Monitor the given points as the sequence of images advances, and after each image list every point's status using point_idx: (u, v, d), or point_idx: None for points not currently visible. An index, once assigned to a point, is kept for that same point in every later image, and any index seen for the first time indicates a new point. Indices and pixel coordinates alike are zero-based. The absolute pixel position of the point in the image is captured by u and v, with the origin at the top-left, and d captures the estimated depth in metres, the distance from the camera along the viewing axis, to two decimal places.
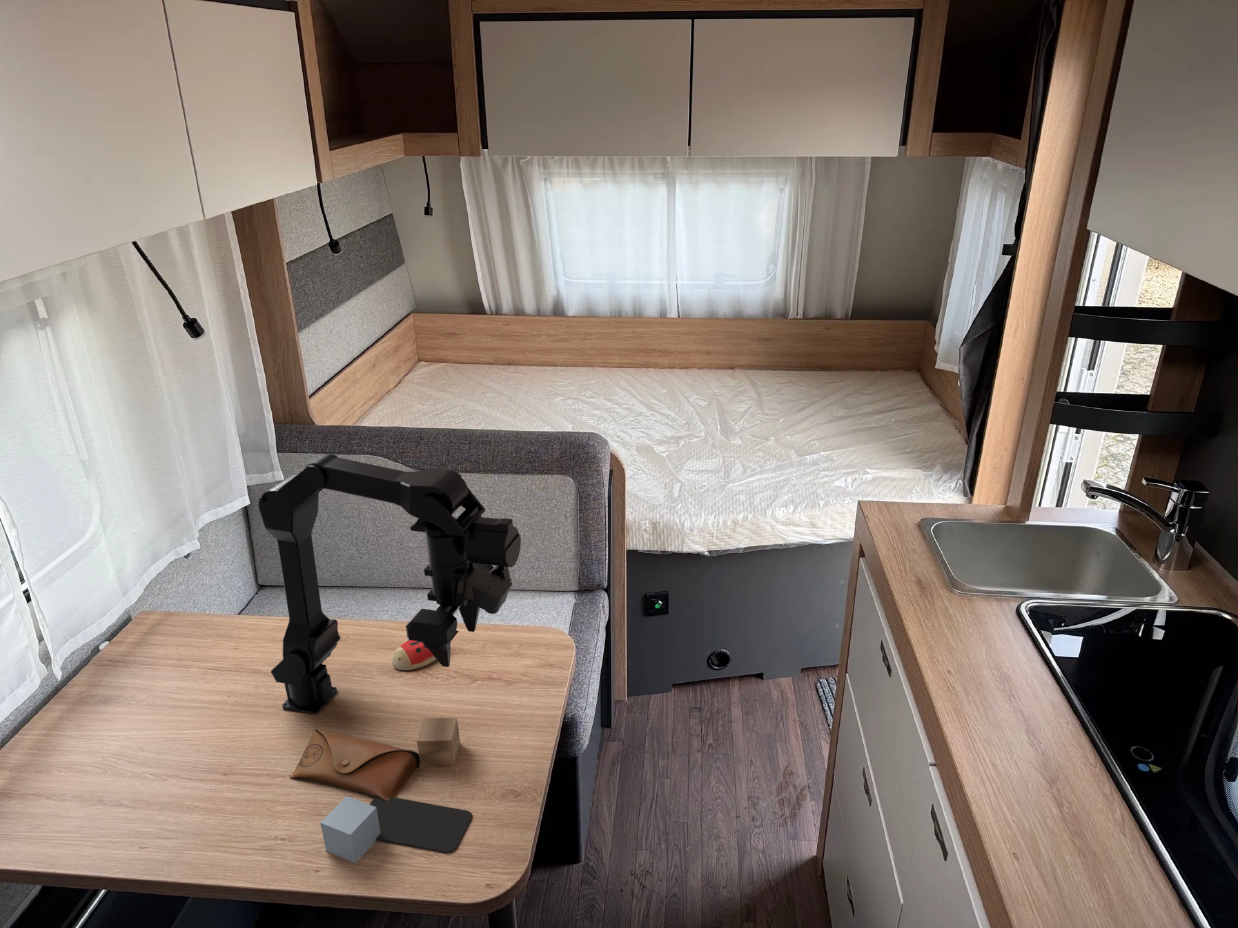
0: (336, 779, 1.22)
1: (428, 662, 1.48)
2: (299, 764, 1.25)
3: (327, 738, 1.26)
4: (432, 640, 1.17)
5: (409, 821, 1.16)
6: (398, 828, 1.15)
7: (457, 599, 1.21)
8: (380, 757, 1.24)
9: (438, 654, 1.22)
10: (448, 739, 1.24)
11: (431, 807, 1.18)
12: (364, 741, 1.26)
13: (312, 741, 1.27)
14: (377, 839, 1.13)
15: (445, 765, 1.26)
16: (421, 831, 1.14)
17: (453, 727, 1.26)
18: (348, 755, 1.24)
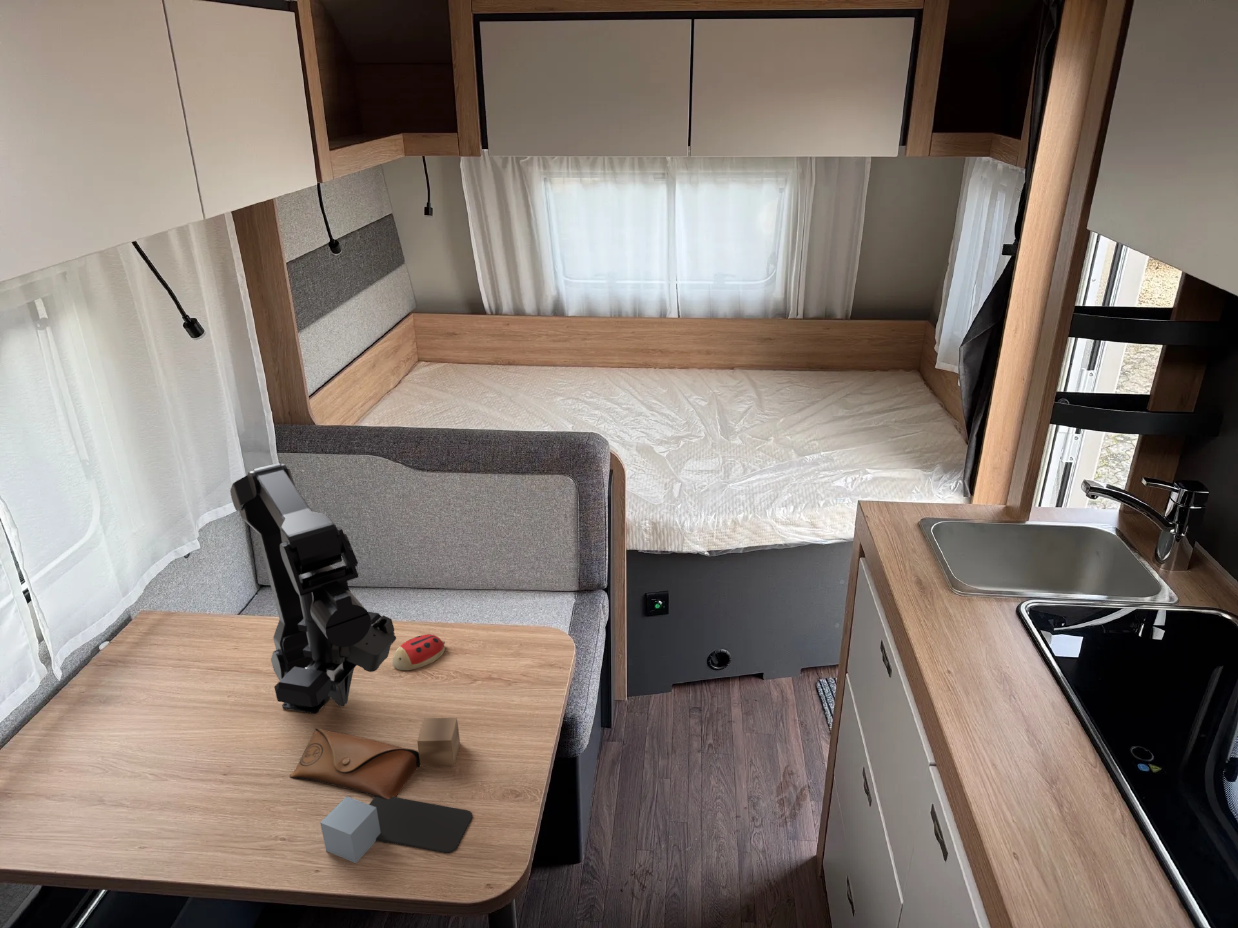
0: (336, 778, 1.22)
1: (428, 662, 1.48)
2: (299, 763, 1.25)
3: (327, 737, 1.26)
4: (301, 702, 1.09)
5: (409, 821, 1.16)
6: (398, 828, 1.15)
7: (333, 656, 1.13)
8: (380, 756, 1.24)
9: (332, 694, 1.19)
10: (448, 739, 1.24)
11: (431, 807, 1.18)
12: (364, 740, 1.26)
13: (312, 740, 1.28)
14: (377, 839, 1.13)
15: (445, 765, 1.26)
16: (421, 831, 1.14)
17: (453, 727, 1.26)
18: (349, 754, 1.24)
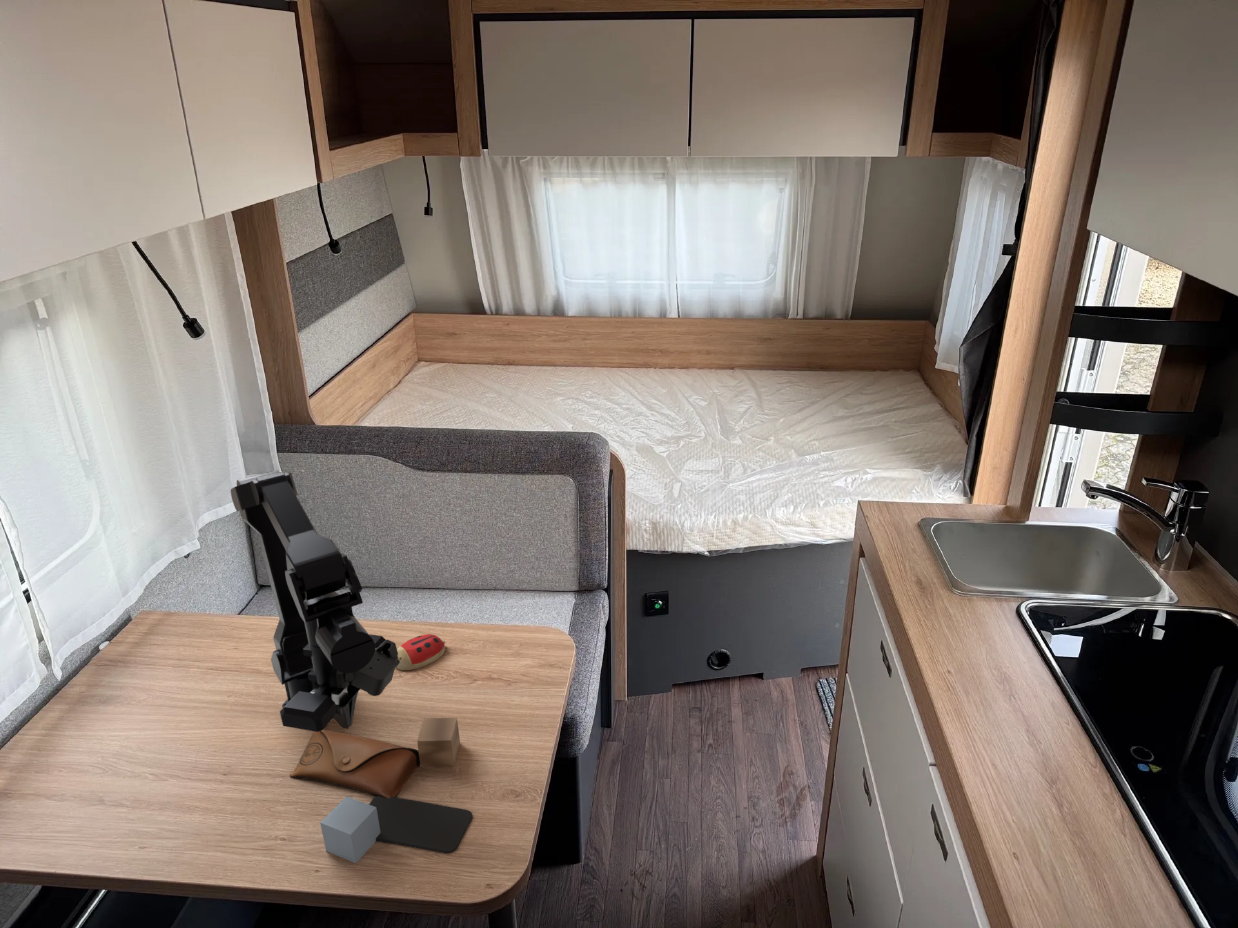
0: (337, 777, 1.22)
1: (429, 662, 1.48)
2: (299, 762, 1.25)
3: (327, 736, 1.26)
4: (306, 727, 1.10)
5: (409, 821, 1.16)
6: (398, 828, 1.14)
7: (337, 680, 1.15)
8: (381, 755, 1.24)
9: (337, 717, 1.20)
10: (448, 739, 1.24)
11: (431, 806, 1.18)
12: (364, 740, 1.26)
13: (312, 740, 1.28)
14: (377, 839, 1.13)
15: (445, 765, 1.26)
16: (421, 831, 1.14)
17: (453, 727, 1.26)
18: (349, 753, 1.24)
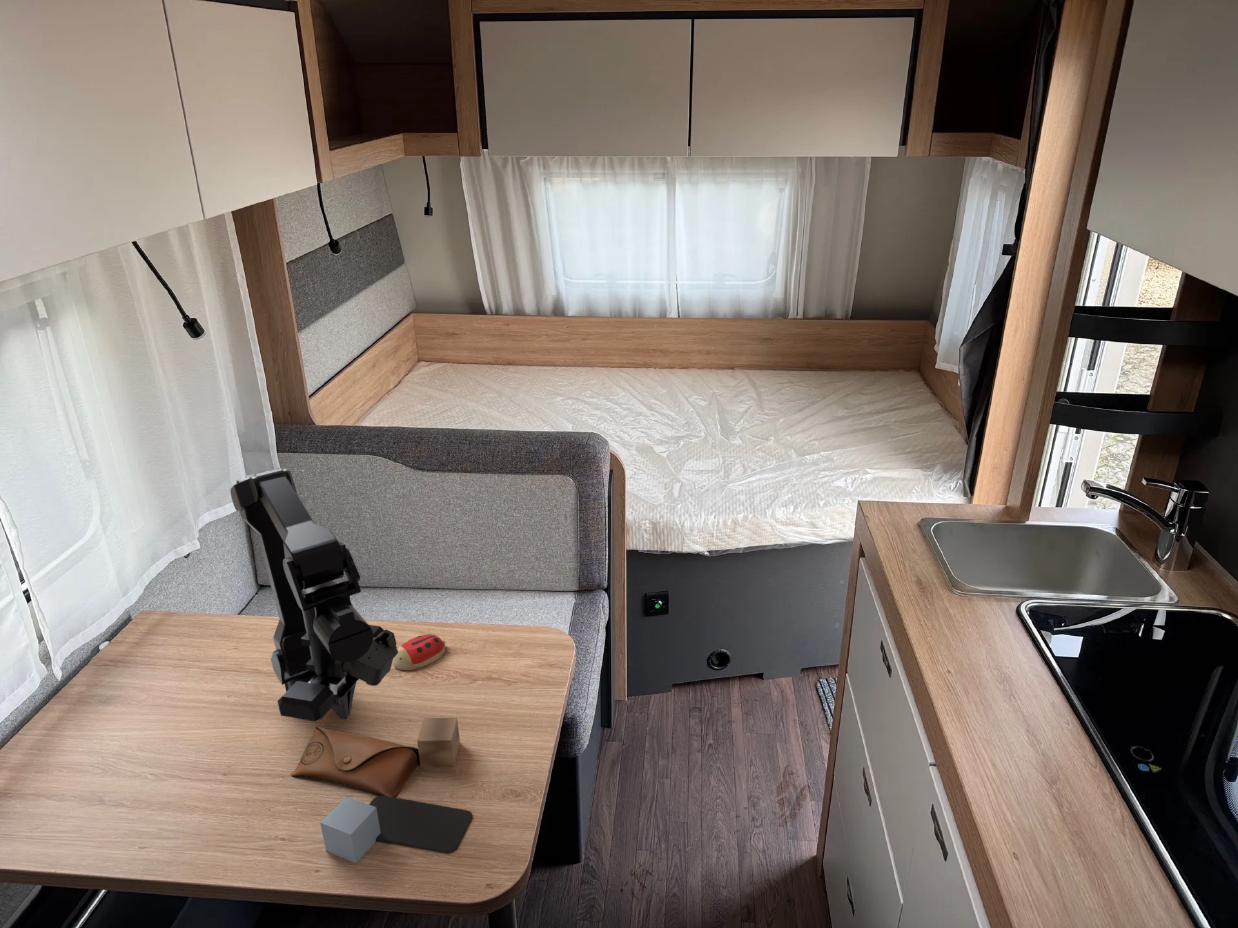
0: (338, 776, 1.22)
1: (429, 662, 1.48)
2: (300, 762, 1.25)
3: (328, 736, 1.26)
4: (304, 716, 1.10)
5: (409, 821, 1.16)
6: (398, 828, 1.14)
7: (336, 670, 1.14)
8: (382, 754, 1.24)
9: (335, 707, 1.19)
10: (448, 739, 1.24)
11: (431, 807, 1.18)
12: (365, 739, 1.26)
13: (313, 739, 1.28)
14: (377, 839, 1.13)
15: (445, 765, 1.26)
16: (421, 831, 1.14)
17: (453, 727, 1.26)
18: (350, 753, 1.24)
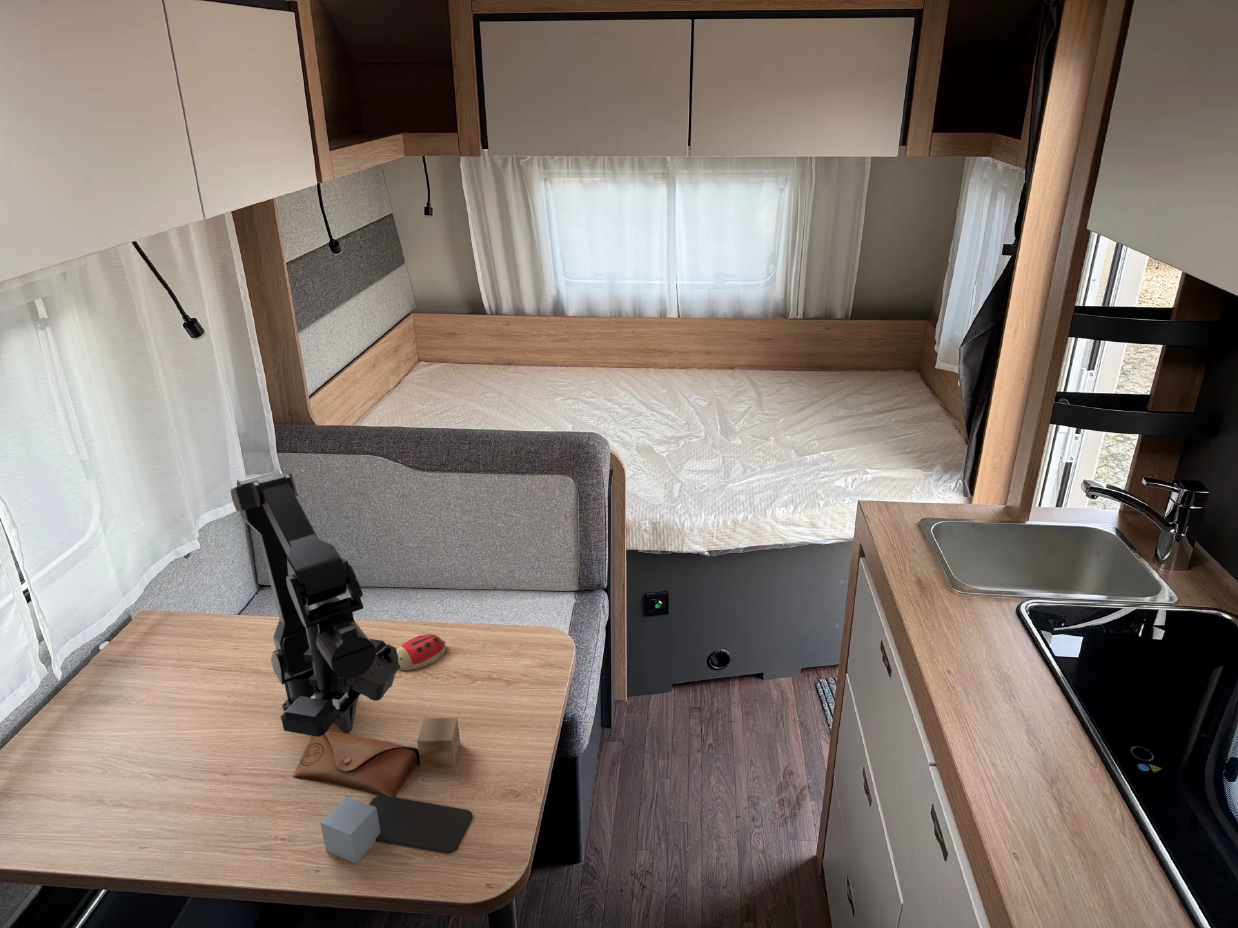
0: (338, 777, 1.22)
1: (429, 661, 1.49)
2: (300, 763, 1.25)
3: (328, 737, 1.27)
4: (307, 732, 1.11)
5: (409, 821, 1.16)
6: (398, 828, 1.14)
7: (338, 685, 1.15)
8: (382, 754, 1.24)
9: (337, 721, 1.21)
10: (448, 739, 1.24)
11: (431, 806, 1.18)
12: (365, 739, 1.26)
13: (313, 740, 1.28)
14: (377, 839, 1.13)
15: (445, 765, 1.26)
16: (421, 831, 1.14)
17: (453, 727, 1.26)
18: (350, 753, 1.24)
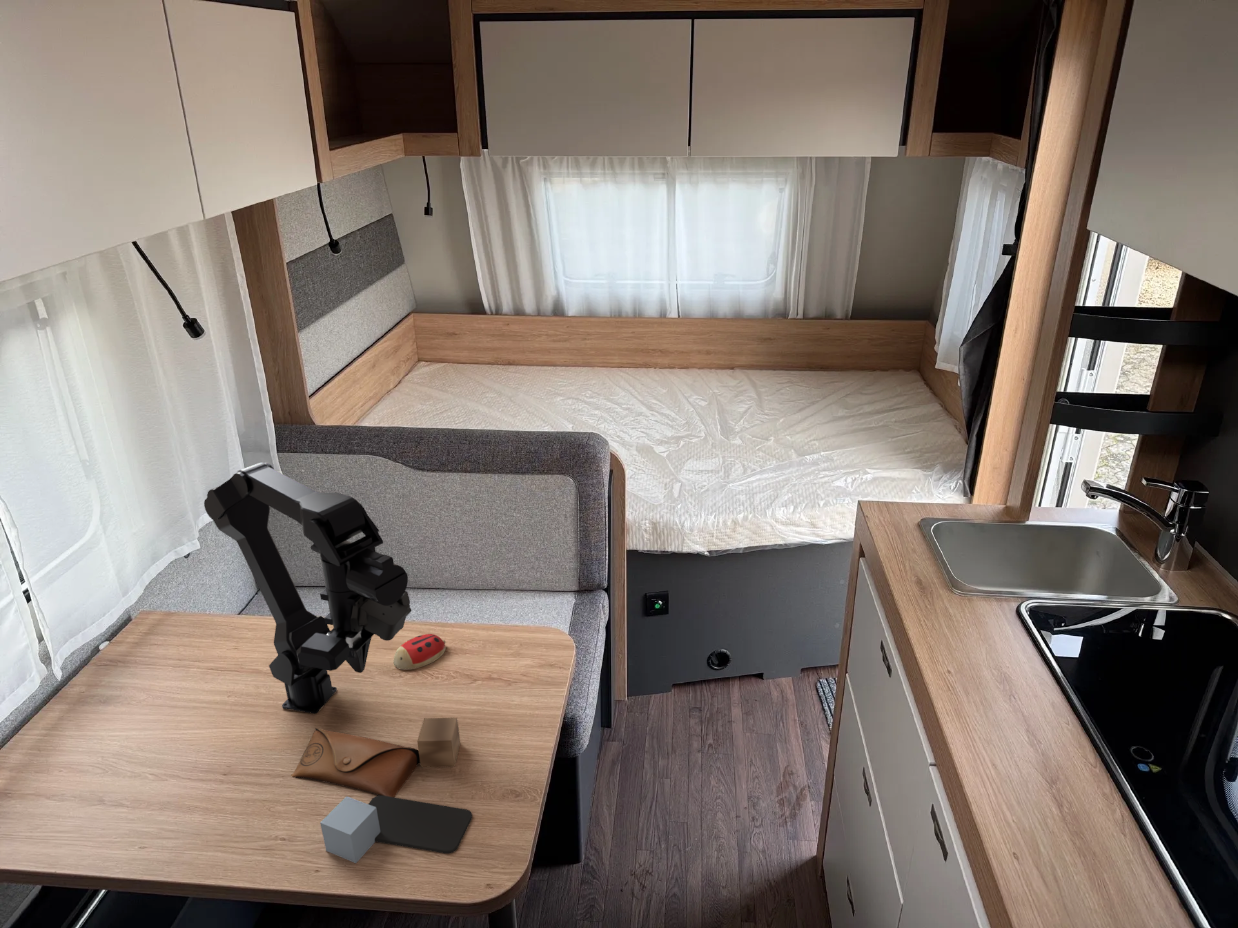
0: (337, 777, 1.22)
1: (430, 661, 1.49)
2: (300, 763, 1.26)
3: (328, 737, 1.27)
4: (321, 666, 1.17)
5: (408, 821, 1.15)
6: (398, 828, 1.14)
7: (352, 624, 1.21)
8: (381, 755, 1.24)
9: (350, 660, 1.26)
10: (448, 739, 1.24)
11: (430, 806, 1.18)
12: (365, 740, 1.26)
13: (313, 740, 1.28)
14: (377, 839, 1.13)
15: (445, 765, 1.26)
16: (421, 831, 1.14)
17: (453, 727, 1.26)
18: (349, 754, 1.24)
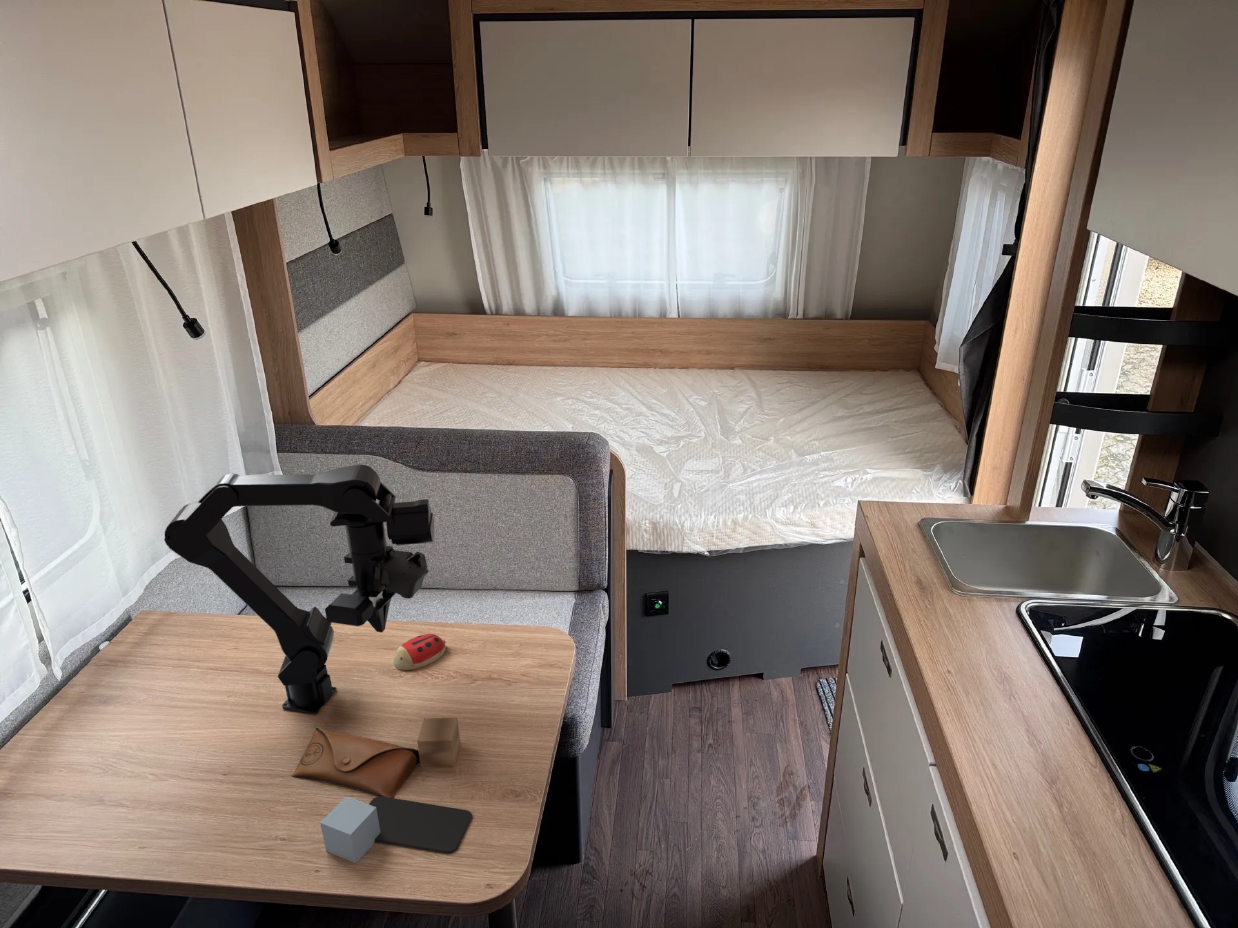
0: (337, 777, 1.22)
1: (430, 661, 1.49)
2: (300, 762, 1.26)
3: (328, 736, 1.27)
4: (348, 622, 1.26)
5: (408, 822, 1.15)
6: (398, 829, 1.14)
7: (374, 585, 1.30)
8: (381, 755, 1.24)
9: (372, 620, 1.36)
10: (448, 739, 1.24)
11: (430, 807, 1.18)
12: (364, 740, 1.26)
13: (313, 740, 1.28)
14: (377, 840, 1.13)
15: (445, 765, 1.26)
16: (421, 831, 1.14)
17: (453, 727, 1.26)
18: (349, 754, 1.24)
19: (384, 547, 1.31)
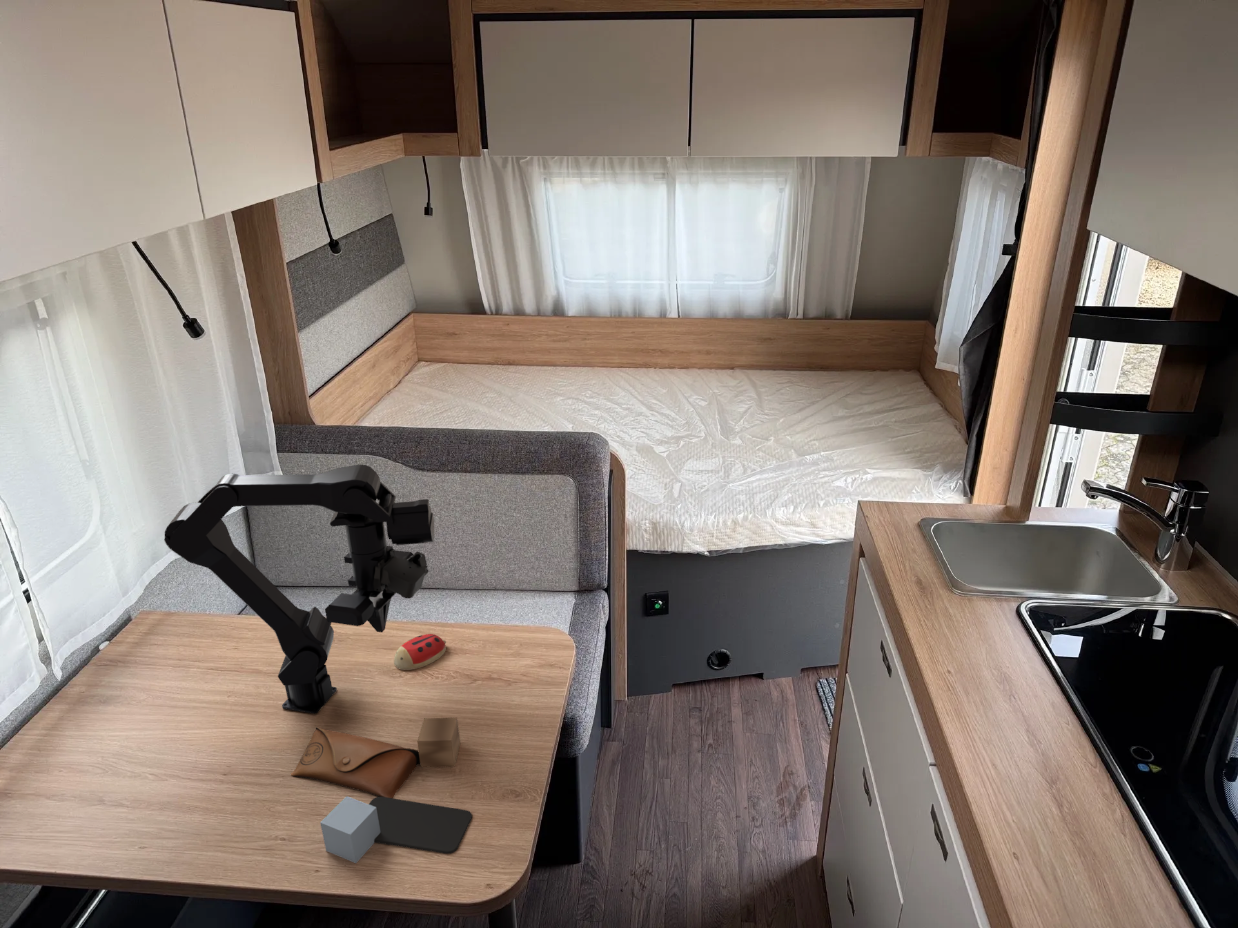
0: (337, 777, 1.22)
1: (430, 661, 1.49)
2: (300, 762, 1.26)
3: (328, 736, 1.27)
4: (349, 622, 1.26)
5: (408, 822, 1.15)
6: (398, 829, 1.14)
7: (375, 584, 1.30)
8: (381, 755, 1.24)
9: (372, 620, 1.36)
10: (448, 739, 1.24)
11: (430, 807, 1.18)
12: (364, 740, 1.26)
13: (313, 739, 1.28)
14: (377, 840, 1.13)
15: (445, 765, 1.26)
16: (421, 832, 1.14)
17: (453, 727, 1.26)
18: (349, 754, 1.24)
19: (384, 547, 1.31)
